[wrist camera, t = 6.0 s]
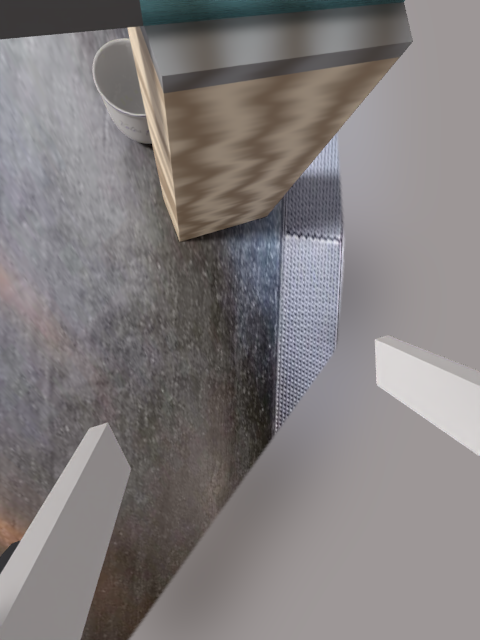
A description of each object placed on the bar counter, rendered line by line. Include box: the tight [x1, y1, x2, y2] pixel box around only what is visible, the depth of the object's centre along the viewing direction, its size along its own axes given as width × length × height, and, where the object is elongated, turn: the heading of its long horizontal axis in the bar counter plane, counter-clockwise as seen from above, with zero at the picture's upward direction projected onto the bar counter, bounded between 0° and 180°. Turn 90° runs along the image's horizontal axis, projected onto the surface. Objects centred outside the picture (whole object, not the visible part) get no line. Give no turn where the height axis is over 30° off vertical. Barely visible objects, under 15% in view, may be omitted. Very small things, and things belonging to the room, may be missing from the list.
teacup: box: [92, 38, 152, 144], centre depth 36 cm, size 14×11×8 cm
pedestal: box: [128, 2, 413, 242], centre depth 28 cm, size 18×8×30 cm, turn 110°
